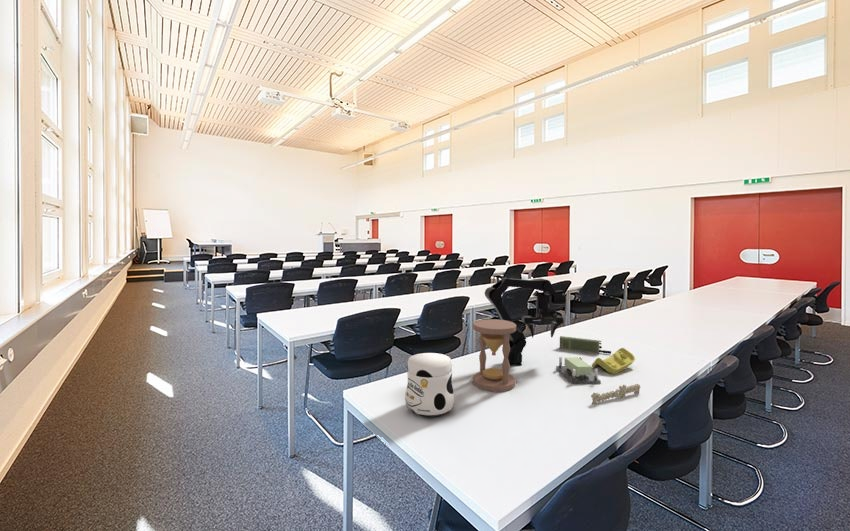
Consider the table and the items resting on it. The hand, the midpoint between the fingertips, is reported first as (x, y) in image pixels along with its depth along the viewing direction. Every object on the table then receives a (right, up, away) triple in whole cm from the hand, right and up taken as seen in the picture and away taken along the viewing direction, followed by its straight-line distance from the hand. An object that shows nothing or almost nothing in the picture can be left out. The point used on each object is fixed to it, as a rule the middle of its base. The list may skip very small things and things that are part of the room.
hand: (542, 337), depth 182 cm
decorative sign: (+16, -16, -40) cm, 46 cm away
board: (+10, -11, -17) cm, 23 cm away
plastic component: (+31, -13, -7) cm, 35 cm away
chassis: (+10, -13, -17) cm, 24 cm away
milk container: (-55, -17, -48) cm, 75 cm away
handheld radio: (+28, -11, +17) cm, 34 cm away
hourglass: (-28, -14, -25) cm, 40 cm away
